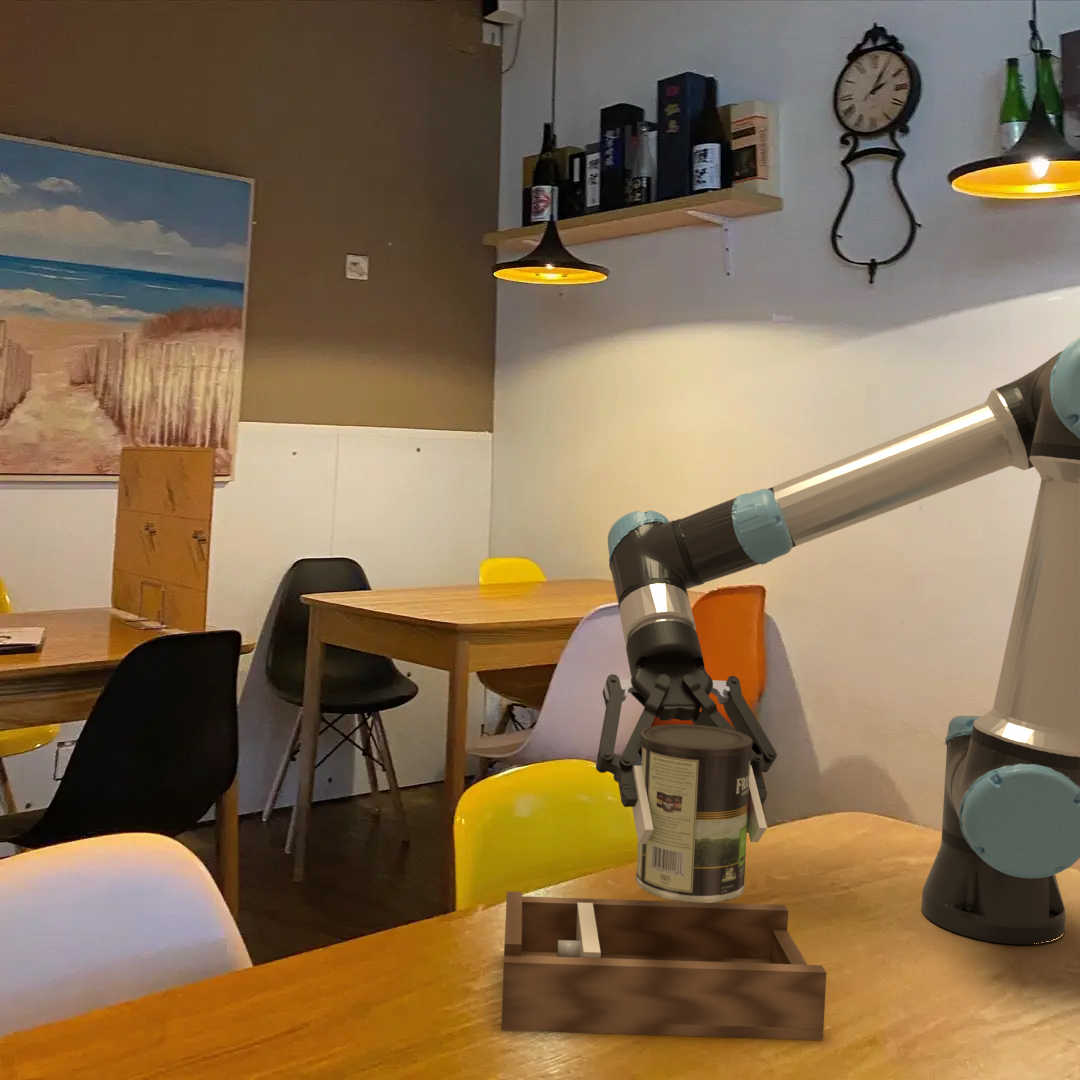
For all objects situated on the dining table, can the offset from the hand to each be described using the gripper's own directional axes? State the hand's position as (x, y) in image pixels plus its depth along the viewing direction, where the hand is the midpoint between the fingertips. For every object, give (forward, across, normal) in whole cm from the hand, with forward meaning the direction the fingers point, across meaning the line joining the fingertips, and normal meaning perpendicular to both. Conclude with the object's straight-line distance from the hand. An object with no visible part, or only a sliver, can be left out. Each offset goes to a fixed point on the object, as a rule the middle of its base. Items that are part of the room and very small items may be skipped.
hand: (702, 835), depth 104 cm
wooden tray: (+9, +3, -14) cm, 17 cm away
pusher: (+7, +10, -14) cm, 19 cm away
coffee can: (+2, 0, -6) cm, 6 cm away
